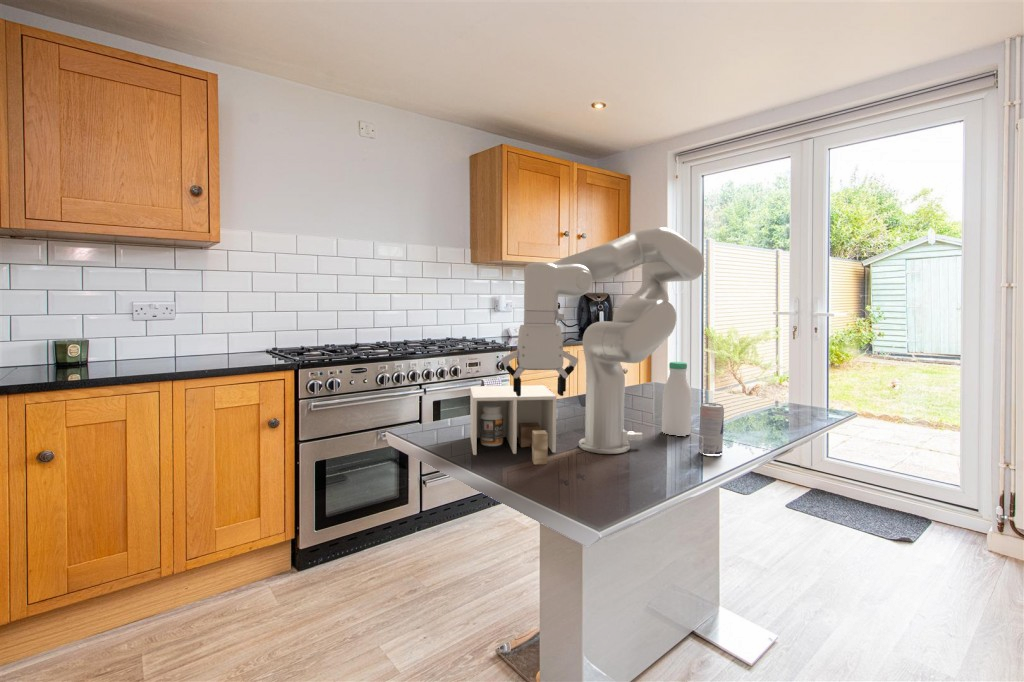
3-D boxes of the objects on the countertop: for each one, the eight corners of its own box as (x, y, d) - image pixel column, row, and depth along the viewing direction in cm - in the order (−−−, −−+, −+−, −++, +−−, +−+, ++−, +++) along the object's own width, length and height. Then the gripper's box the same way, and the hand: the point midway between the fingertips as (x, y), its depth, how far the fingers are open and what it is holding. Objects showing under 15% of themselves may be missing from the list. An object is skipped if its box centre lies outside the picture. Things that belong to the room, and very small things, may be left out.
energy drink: (722, 452, 126) (724, 403, 125) (721, 458, 121) (723, 408, 120) (699, 449, 128) (701, 402, 127) (697, 455, 123) (699, 406, 122)
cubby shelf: (543, 435, 141) (544, 385, 140) (555, 452, 125) (556, 396, 124) (470, 437, 138) (470, 386, 137) (473, 454, 123) (473, 397, 122)
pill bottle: (500, 447, 129) (500, 408, 128) (478, 446, 130) (478, 407, 129) (505, 441, 134) (505, 404, 134) (483, 440, 135) (483, 403, 135)
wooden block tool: (537, 441, 135) (537, 414, 135) (551, 463, 116) (552, 433, 116) (518, 441, 134) (518, 415, 134) (529, 464, 116) (530, 434, 115)
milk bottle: (694, 437, 139) (697, 364, 138) (665, 437, 140) (668, 364, 138) (685, 430, 147) (687, 360, 146) (658, 430, 147) (660, 360, 146)
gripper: (574, 318, 120) (573, 391, 121) (500, 318, 118) (499, 392, 119) (582, 320, 112) (581, 397, 113) (503, 319, 110) (502, 398, 111)
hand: (539, 395), depth 116 cm, fingers open, 9 cm apart
